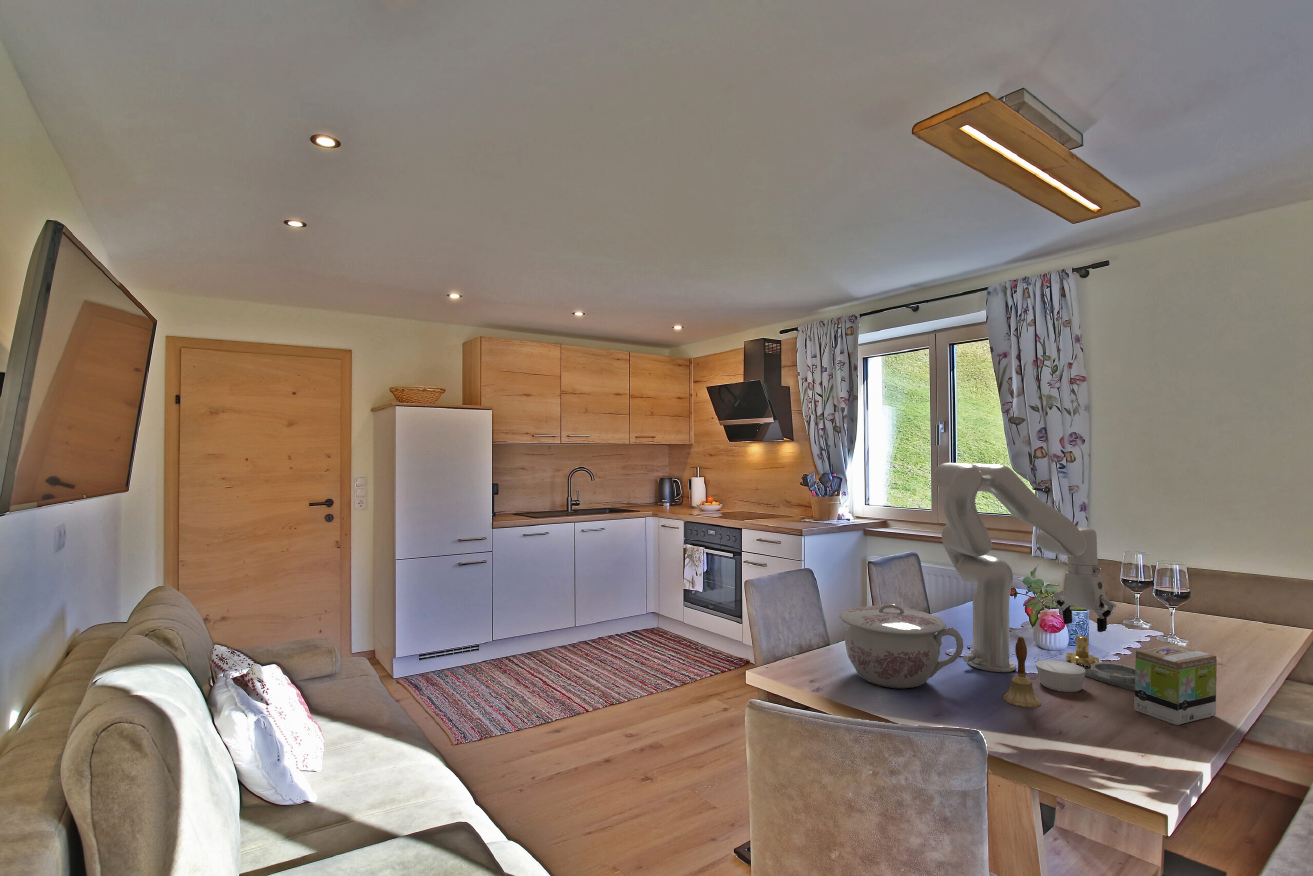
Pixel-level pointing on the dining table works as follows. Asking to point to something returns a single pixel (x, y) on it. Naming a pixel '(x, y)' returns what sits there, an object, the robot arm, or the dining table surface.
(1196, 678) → the tea box
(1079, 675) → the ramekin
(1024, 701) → the hand bell
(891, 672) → the chamber pot
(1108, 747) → the dining table surface
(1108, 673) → the tray
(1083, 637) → the planet gear
